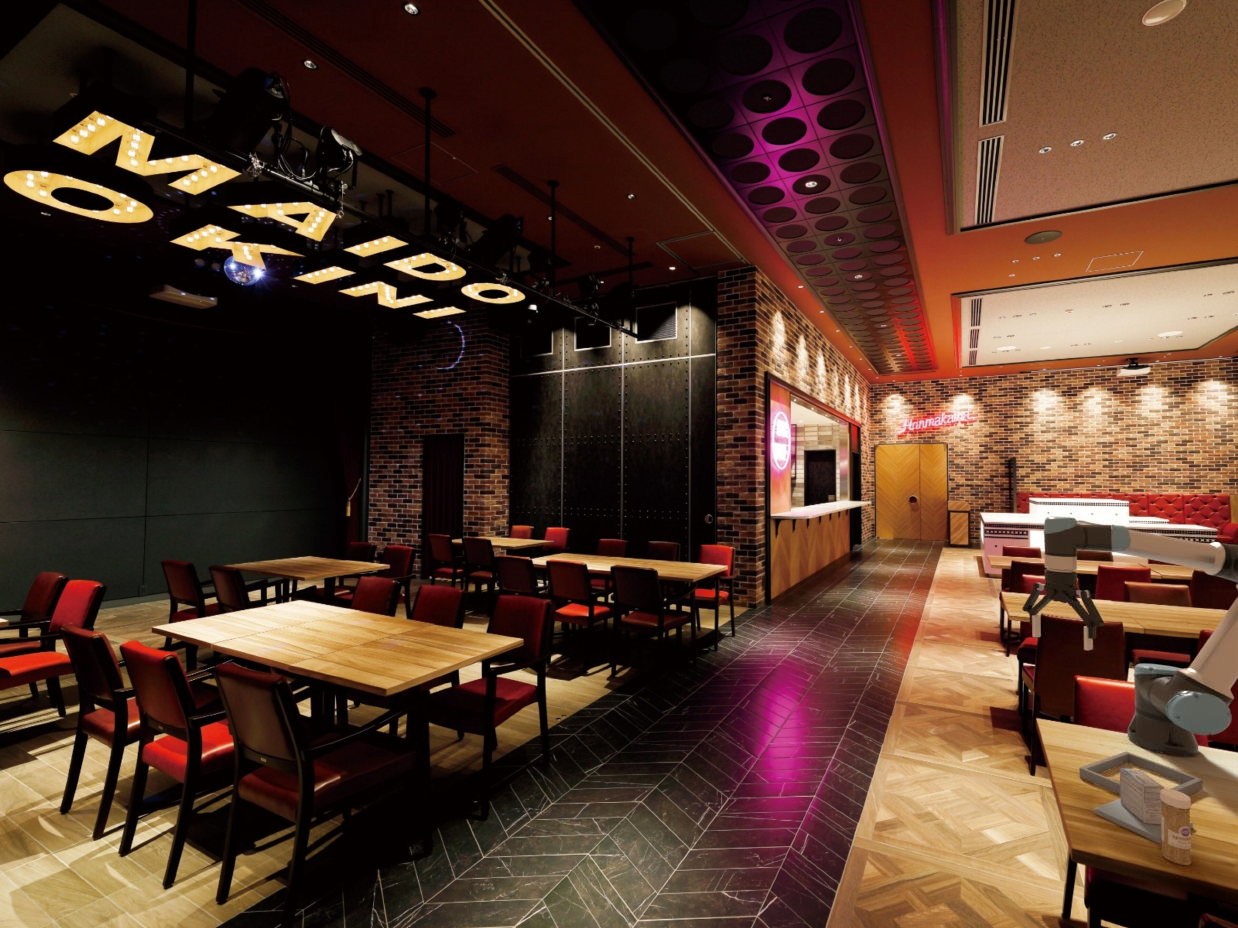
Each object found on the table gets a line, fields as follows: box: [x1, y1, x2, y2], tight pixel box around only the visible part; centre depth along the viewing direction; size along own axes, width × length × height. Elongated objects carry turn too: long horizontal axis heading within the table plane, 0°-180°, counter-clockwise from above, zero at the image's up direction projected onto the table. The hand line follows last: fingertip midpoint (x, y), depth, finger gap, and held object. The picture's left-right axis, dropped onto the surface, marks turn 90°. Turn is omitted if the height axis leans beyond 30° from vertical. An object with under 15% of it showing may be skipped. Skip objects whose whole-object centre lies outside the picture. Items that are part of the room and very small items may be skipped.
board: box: [1094, 798, 1194, 844], centre depth 132 cm, size 14×12×1 cm
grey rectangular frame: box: [1078, 751, 1204, 797], centre depth 148 cm, size 22×16×2 cm
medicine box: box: [1119, 768, 1165, 825], centre depth 132 cm, size 8×4×9 cm, turn 169°
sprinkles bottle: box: [1160, 788, 1192, 866], centre depth 119 cm, size 5×5×14 cm
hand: (1061, 642), depth 167 cm, fingers open, 13 cm apart
